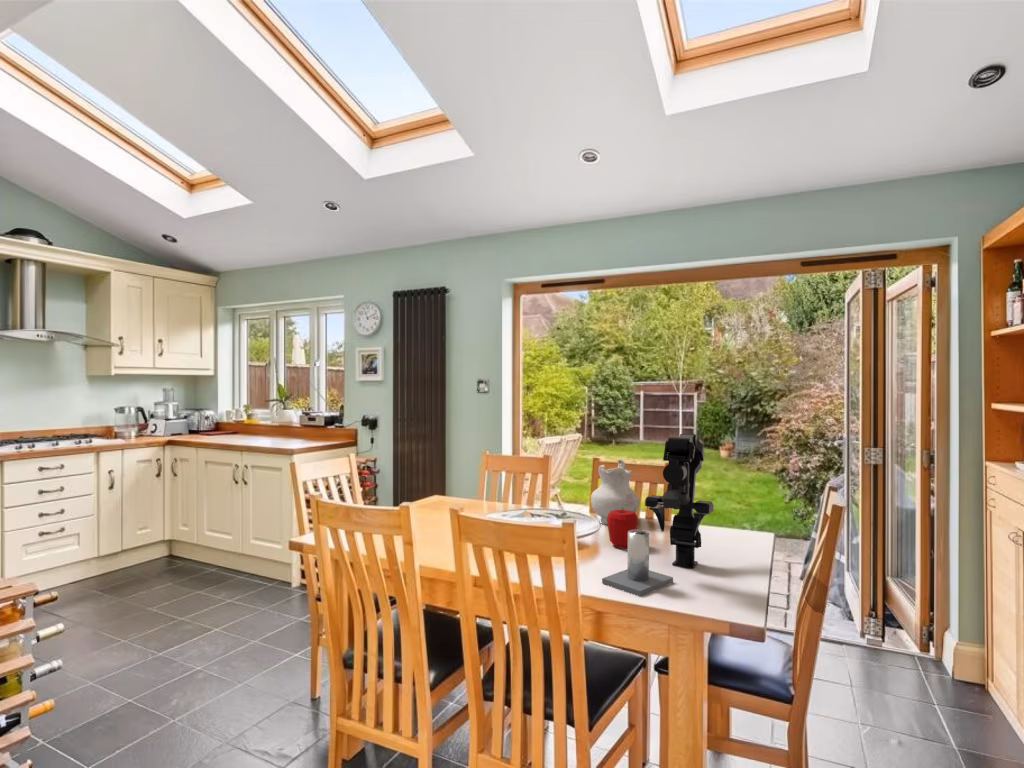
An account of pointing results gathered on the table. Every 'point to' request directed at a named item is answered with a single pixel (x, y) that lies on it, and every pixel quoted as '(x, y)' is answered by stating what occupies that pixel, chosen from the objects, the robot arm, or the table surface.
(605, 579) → the base plate
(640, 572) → the silver metal cylinder
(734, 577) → the table surface
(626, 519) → the apple
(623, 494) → the ceramic pitcher
